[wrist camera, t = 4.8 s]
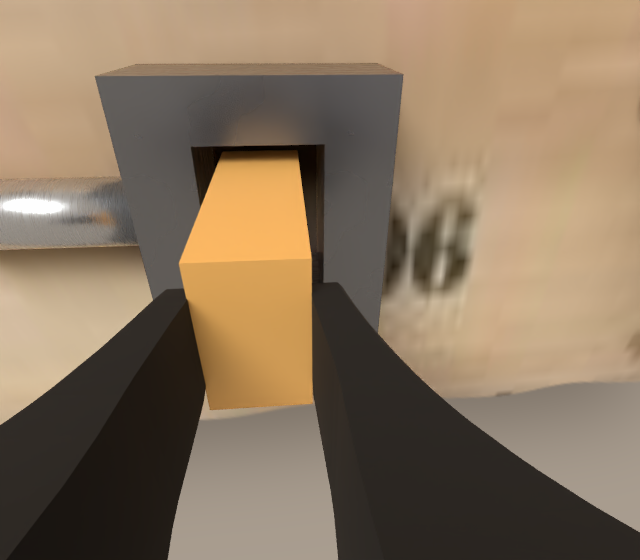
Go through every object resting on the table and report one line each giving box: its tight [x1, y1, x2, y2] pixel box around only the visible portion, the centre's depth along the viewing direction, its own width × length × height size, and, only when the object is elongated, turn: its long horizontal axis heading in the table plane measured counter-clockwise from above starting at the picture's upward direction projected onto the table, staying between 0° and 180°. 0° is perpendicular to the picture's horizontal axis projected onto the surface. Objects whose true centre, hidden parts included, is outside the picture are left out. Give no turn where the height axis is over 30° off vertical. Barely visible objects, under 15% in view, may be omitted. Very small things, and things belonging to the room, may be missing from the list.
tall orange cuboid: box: [179, 150, 312, 410], centre depth 11 cm, size 2×4×7 cm, turn 0°
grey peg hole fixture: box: [0, 63, 403, 333], centre depth 14 cm, size 16×9×4 cm, turn 90°
